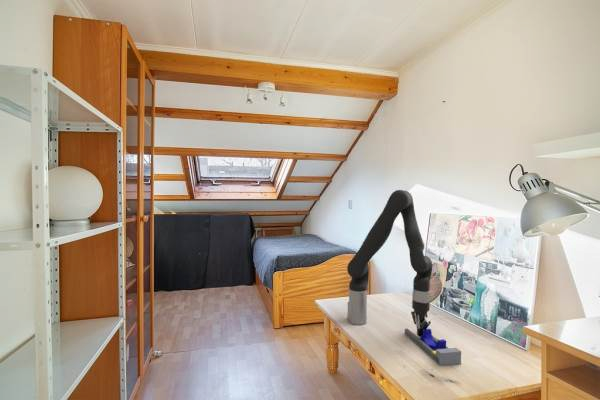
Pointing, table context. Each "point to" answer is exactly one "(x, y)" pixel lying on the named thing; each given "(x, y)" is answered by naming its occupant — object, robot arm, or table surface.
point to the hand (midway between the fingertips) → (420, 335)
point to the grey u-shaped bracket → (437, 351)
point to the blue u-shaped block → (432, 340)
